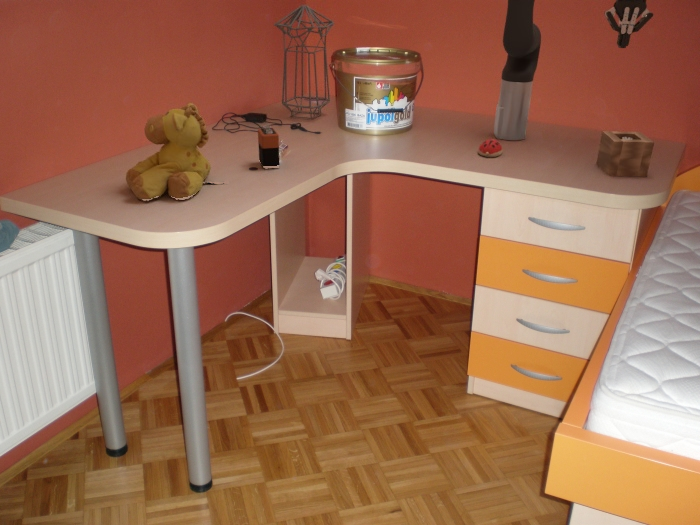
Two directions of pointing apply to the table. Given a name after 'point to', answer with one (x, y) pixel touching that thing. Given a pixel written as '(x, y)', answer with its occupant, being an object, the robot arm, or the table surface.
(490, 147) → the ladybug figurine
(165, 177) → the giraffe plush
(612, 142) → the socket block
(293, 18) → the geometric lantern
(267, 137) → the battery
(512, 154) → the table surface
